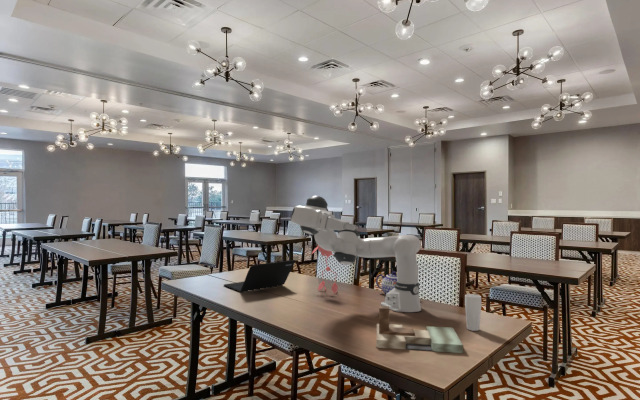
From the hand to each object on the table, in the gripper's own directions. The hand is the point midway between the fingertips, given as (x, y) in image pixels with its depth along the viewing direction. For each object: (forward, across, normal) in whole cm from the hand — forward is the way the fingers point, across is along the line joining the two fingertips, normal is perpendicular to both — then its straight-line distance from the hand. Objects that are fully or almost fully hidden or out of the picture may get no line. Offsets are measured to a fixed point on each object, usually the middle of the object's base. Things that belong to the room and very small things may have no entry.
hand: (356, 228), depth 162 cm
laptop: (-62, -73, -58) cm, 112 cm away
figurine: (-17, -69, -48) cm, 86 cm away
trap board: (+34, +4, -39) cm, 52 cm away
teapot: (+24, -72, -39) cm, 85 cm away
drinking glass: (+59, -16, -33) cm, 69 cm away
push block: (+26, +4, -38) cm, 46 cm away
